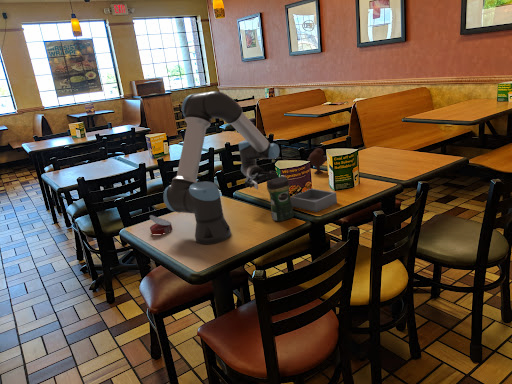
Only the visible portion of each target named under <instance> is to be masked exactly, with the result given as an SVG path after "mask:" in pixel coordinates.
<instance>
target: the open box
mask: <svg viewBox="0 0 512 384" xmlns="http://www.w3.org/2000/svg"><path fill="white" fill-rule="evenodd" d="M308 189H309V190H308ZM308 189H306V190H307V191H306V190H304V191H305V192H303V191H301V192H302V193H301V192H298V193H296V194H294V195H291V196H290V200H291V204H292V208H294V207H296V208H295V209H298V208H301V209H300V210H302V209H305V210H304V211H307V210H310V211H309V212H311V211H314V212H313V213H315V212H317V213H319V212H321V211H323V210H325V209H327V208H329V206H330V207H332V206H334V205H337V203H338V197H337V192H336V191H335V192H334V191H328V190H322V189H316V188H311V189H310V188H308ZM331 205H332V206H331ZM322 209H323V210H322ZM320 210H321V211H320ZM318 211H319V212H318Z"/></svg>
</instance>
